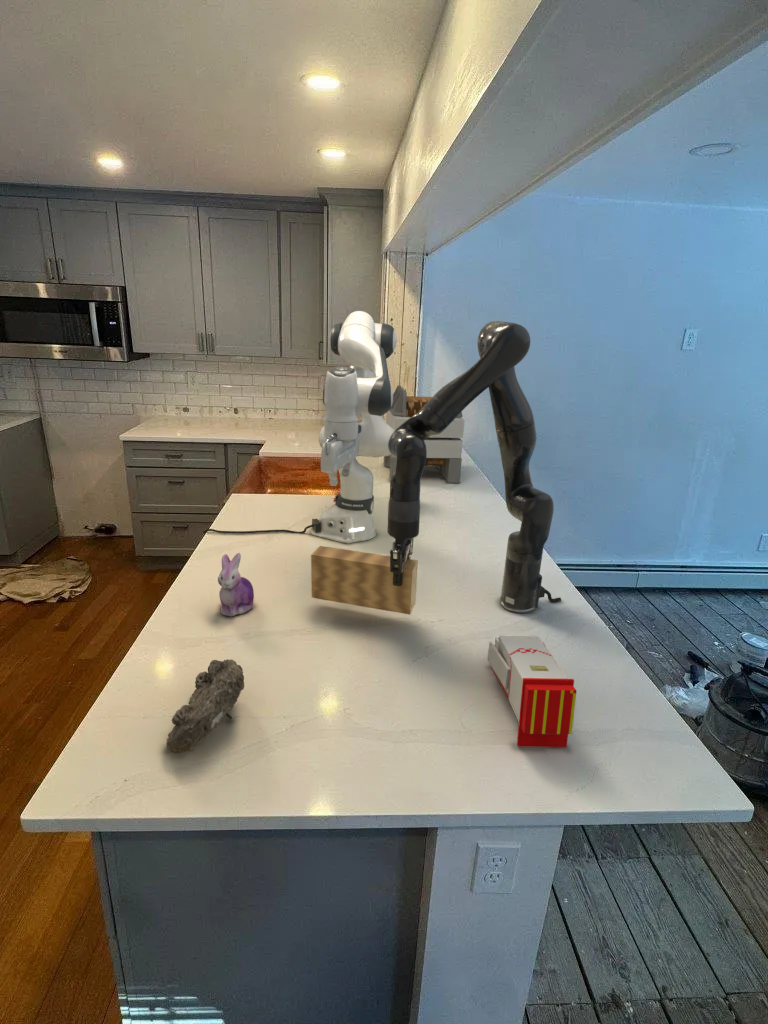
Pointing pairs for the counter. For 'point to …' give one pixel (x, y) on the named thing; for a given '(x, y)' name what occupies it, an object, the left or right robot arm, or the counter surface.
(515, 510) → the right robot arm
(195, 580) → the counter surface
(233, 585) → the figurine
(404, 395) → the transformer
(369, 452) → the left robot arm
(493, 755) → the counter surface
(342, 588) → the box
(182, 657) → the counter surface
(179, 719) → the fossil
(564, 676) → the toy
